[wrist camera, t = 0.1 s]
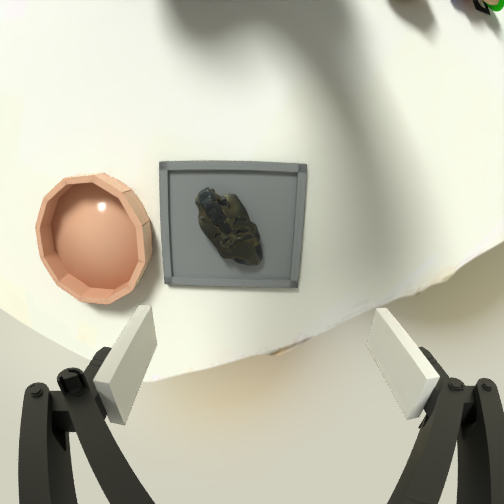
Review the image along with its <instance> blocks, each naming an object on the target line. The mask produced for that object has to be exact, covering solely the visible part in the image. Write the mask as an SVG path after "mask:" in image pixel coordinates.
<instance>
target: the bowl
mask: <svg viewBox="0 0 504 504" xmlns="http://www.w3.org/2000/svg"><path fill="white" fill-rule="evenodd" d="M149 220H150V219H149V217H148V215H147V212H146V210H145V208H144V206H143V204H142V203H141V201H140V200H139V198H138V197H137V196H136V194H135V193H134V192H133V190H132V189H131V188H129V187H128V186H127V185H125V184H124V183H122V182H121V181H119V180H117V179H115V178H113V177H110V176H109V175H107V174H105V173H99V174H87V175H76V176H71V177H67V178H64V179H63V180H62V181H61V182H59V183H58V184H57V185H56V186H55V187H54V188H53V189H52V190H51V191H50V192H49V193H48V194H47V195H46V196H45V197H44V198H43V201H42V204H41V208H40V211H39V215H38V218H37V222H36V226H35V229H36V236H37V242H38V249H39V254H40V258H41V260H42V262H43V264H44V266H45V267H46V269H47V270H48V272H49V274H50V275H51V277H52V278H53V280H54V282H55V283H56V285H57V286H59V287H60V288H62V289H63V290H64V291H66V292H67V293H69V294H70V295H72V296H73V297H75V298H76V299H78V300H79V301H81V302H87V303H97V304H107V305H108V304H110V303H112V302H114V301H116V300H117V299H119V298H121V297H123V296H125V295H126V294H128V293H130V292H132V291H133V289H134V288H135V287H136V285H137V284H138V283H139V281H140V279H141V277H142V275H143V273H144V271H145V269H146V268H147V265H148V263H149V261H150V258H151V256H152V230H151V225H150V221H149Z"/></svg>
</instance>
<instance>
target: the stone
mask: <svg viewBox="0 0 504 504" xmlns="http://www.w3.org/2000/svg"><path fill="white" fill-rule="evenodd" d="M195 204H196V205H197V207H198V209H199V215H198V220H199V225H200V228H201V230H202V231H203V233H204V234H205V235H206V236H207V237H208V238H209V239H210V241H211V242H212V243H213V245H214V246H215V247H216V248H217V251H218V252H219V254H220V256H221V257H222V258H224V259H233V260H234V261H235V262H237V263H239V264H244V265H249V266H255V265H256V266H257V265H259V264H260V262H261V260H262V258H263V254H262V249H261V245H260V244H259V240H260V234H259V233H258V229H257V226H256V224H254V223H253V222H251V221H250V218H249V215H248V213H247V210H246V209H245V207H244V205H243V204H242V202H241V201H240V200H239V198H238V197H237V195H235V194H226V195H222V196H220V195H218V194H216V193H215V190H214V189H213V188H211V187H207V188H205V189H203V190H201V191H200V192H199V193H198V194H197V196H196V198H195Z"/></svg>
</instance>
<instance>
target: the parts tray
mask: <svg viewBox="0 0 504 504" xmlns="http://www.w3.org/2000/svg"><path fill="white" fill-rule="evenodd" d="M306 175H307V164H298V163H281V162H258V161H164V162H159V189H160V221H161V241H162V257H163V270H164V282H165V284H176V285H201V286H232V287H282V288H298V278H299V268H300V257H301V245H302V233H303V221H304V207H305V192H306ZM207 187H211V188H213V189H214V190H215V193H216V194H218V195H220V196H222V195H226V194H235V195H237V197H238V198H239V200H240V201H241V202H242V204H243V205H244V207H245V209H246V210H247V213H248V215H249V218H250V221H251V222H253V223H254V224H256V226H257V229H258V233H259V234H260V240H259V244H260V245H261V249H262V254H263V258H262V260H261V262H260V264H259V265H257V266H256V265H255V266H249V265H244V264H239V263H237V262H235V261H234V260H233V259H224V258H222V257H221V256H220V254H219V252H218V251H217V248H216V247H215V246H214V245H213V243H212V242H211V241H210V239H209V238H208V237H207V236H206V235H205V234H204V233H203V231H202V230H201V228H200V225H199V220H198V215H199V209H198V207H197V205H196V204H195V198H196V196H197V194H198V193H199V192H200V191H201V190H203V189H205V188H207Z"/></svg>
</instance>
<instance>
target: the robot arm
mask: <svg viewBox="0 0 504 504" xmlns="http://www.w3.org/2000/svg"><path fill="white" fill-rule="evenodd" d="M156 346H157V340H156V334H155V327H154V321H153V314H152V306H148V305H139V306H138V307H137V309H136V311H135V312H134V314H133V315H132V317H131V318H130V320H129V322H128V323H127V325H126V326H125V328H124V329H123V331H122V333H121V334H120V336H119V337H118V339H117V341H116V342H115V344H114V346H113V347H112V348H109V347H103V348H102V349H100V350H99V351H98V352H97V353H96V354H95V356H94V357H93V360H91V362H90V364H89V365H88V367H87V368H86V370H85V371H84V373H83V371H82V370H80V369H78V368H67V369H65V370H63V371H62V372H60V373H59V374H58V376H57V382H58V385H59V387H60V389H61V391H50V390H49V388H48V387H47V385H46V384H44V383H33V384H32V385H30V386H28V387H27V389H26V391H25V395H24V401H23V408H22V418H21V427H20V439H19V462H18V465H19V466H18V474H19V475H18V478H19V479H18V481H19V503H20V504H78V503H77V498H76V493H75V487H74V480H73V473H72V465H71V455H70V443H69V432H76V433H77V435H78V438H79V440H80V443H81V445H82V448H83V450H84V452H85V455H86V457H87V459H88V461H89V464H90V466H91V468H92V470H93V472H94V474H95V476H96V478H97V480H98V482H99V484H100V486H101V488H102V490H103V491H104V493H105V495H106V497H107V499H108V501H109V502H110V504H155V503H154V501H153V500H152V499H151V497H150V496H149V494H148V493H147V492H146V490H145V489H144V487H143V486H142V484H141V483H140V481H139V480H138V478H137V477H136V475H135V473H134V472H133V470H132V469H131V467H130V466H129V464H128V462H127V460H126V459H125V457H124V455H123V454H122V452H121V450H120V448H119V447H118V445H117V443H116V441H115V440H114V438H113V436H112V434H111V432H110V430H109V428H108V426H107V424H106V422H105V418H106V415H107V416H108V418H109V420H110V422H111V423H116V424H121V425H125V424H126V421H127V419H128V416H129V413H130V411H131V408H132V406H133V403H134V401H135V398H136V395H137V393H138V390H139V388H140V385H141V383H142V380H143V378H144V375H145V373H146V370H147V368H148V366H149V363H150V361H151V358H152V356H153V353H154V351H155V349H156ZM366 346H367V348H368V350H369V351H370V353H371V355H372V357H373V358H374V360H375V362H376V364H377V366H378V367H379V369H380V371H381V373H382V375H383V377H384V378H385V380H386V382H387V384H388V386H389V388H390V389H391V391H392V393H393V395H394V397H395V399H396V401H397V403H398V405H399V407H400V408H401V410H402V412H403V414H404V416H405V418H406V420H409V419H413V418H417V417H419V416H420V414H421V412H422V411H423V409H424V410H425V412H426V416H425V417H424V419H423V421H422V423H421V424H420V426H419V428H420V431H419V434H418V436H417V439H416V442H415V444H414V447H413V449H412V452H411V455H410V457H409V459H408V461H407V464H406V466H405V468H404V471H403V473H402V475H401V477H400V479H399V482H398V483H397V485H396V488H395V490H394V491H393V493H392V495H391V498H390V499H389V501H388V503H387V504H438V502H439V499H440V496H441V493H442V490H443V488H444V485H445V481H446V478H447V475H448V472H449V468H450V465H451V461H452V457H453V454H454V449H455V446H456V441H457V445H458V488H457V504H504V412H503V408H502V404H501V400H500V396H499V393H498V390H497V386H496V384H495V383H494V382H493V381H492V380H490V379H487V378H481V379H479V380H478V382H477V384H476V385H475V386H465V385H464V383H463V382H462V381H461V380H458V379H457V378H449V376H448V375H447V374H446V373H445V371H444V370H443V369H442V367H441V366H440V365H439V363H437V361H436V359H434V357H433V356H432V354H431V353H430V352H429V351H428V350H426V349H425V348H423V347H417V345H416V344H415V343H414V341H413V340H412V339H411V338H410V336H409V335H408V334H407V333H406V331H405V330H404V329H403V328H402V326H401V325H400V324H399V323H398V321H397V320H396V319H395V318H394V316H393V315H392V314H391V313H390V311H389V310H388V309H387V308H376V309H375V314H374V318H373V322H372V326H371V330H370V334H369V337H368V342H367V345H366Z"/></svg>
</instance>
